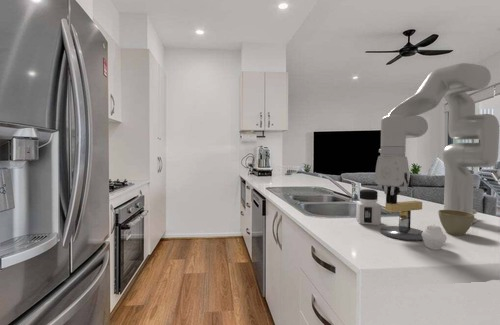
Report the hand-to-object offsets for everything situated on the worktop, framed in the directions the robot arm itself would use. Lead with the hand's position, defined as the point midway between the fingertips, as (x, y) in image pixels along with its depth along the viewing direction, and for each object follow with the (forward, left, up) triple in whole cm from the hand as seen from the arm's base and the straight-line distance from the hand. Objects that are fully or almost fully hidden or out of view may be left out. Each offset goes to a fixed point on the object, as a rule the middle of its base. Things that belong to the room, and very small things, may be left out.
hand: (391, 206), depth 94 cm
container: (-5, -15, -10) cm, 18 cm away
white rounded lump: (+1, +15, -10) cm, 18 cm away
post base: (-3, +2, -10) cm, 10 cm away
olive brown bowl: (-21, +8, -10) cm, 25 cm away
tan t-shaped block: (-3, +2, -4) cm, 5 cm away
